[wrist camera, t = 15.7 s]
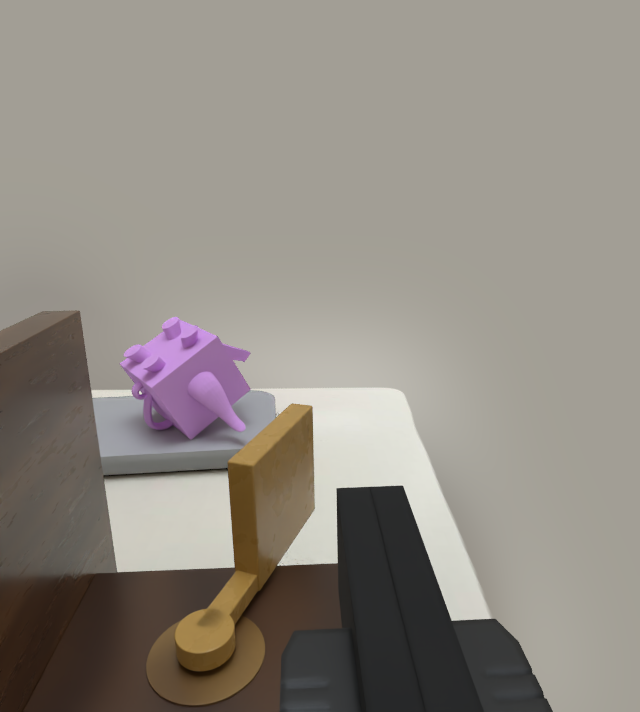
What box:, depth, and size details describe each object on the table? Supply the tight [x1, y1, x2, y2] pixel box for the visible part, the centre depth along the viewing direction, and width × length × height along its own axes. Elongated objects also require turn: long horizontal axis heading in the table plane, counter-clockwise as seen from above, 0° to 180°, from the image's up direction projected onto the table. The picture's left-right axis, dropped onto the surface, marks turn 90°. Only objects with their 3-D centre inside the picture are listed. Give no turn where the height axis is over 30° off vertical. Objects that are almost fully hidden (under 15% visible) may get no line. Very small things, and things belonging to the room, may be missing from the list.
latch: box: [174, 404, 315, 671], centre depth 28 cm, size 13×3×7 cm, turn 160°
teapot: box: [120, 317, 250, 440], centre depth 58 cm, size 18×13×10 cm
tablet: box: [92, 391, 276, 475], centre depth 60 cm, size 16×26×2 cm, turn 95°
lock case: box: [0, 311, 342, 712], centre depth 23 cm, size 16×18×20 cm
